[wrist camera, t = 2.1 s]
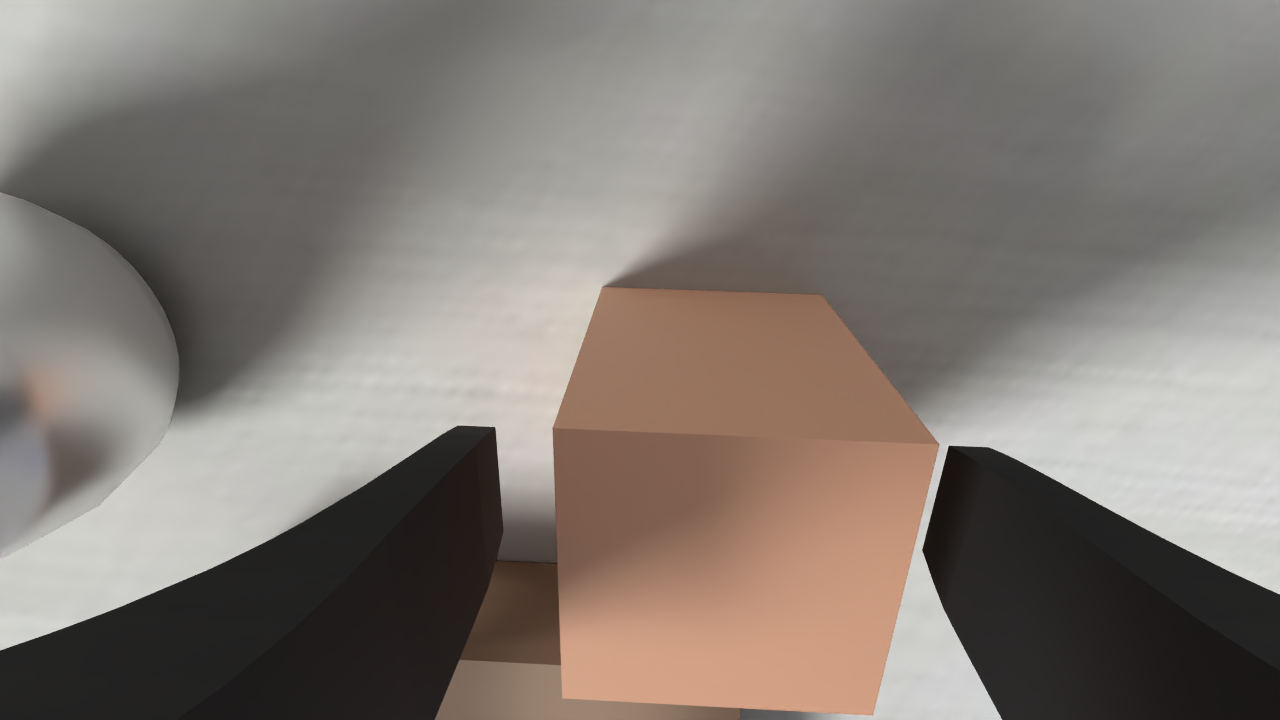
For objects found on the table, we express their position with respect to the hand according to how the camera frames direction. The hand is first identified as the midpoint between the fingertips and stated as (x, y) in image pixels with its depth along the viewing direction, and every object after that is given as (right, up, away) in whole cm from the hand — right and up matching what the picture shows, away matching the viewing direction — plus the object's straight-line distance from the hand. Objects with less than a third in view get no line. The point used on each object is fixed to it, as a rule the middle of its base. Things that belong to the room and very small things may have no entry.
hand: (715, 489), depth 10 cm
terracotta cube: (0, +1, +4) cm, 4 cm away
